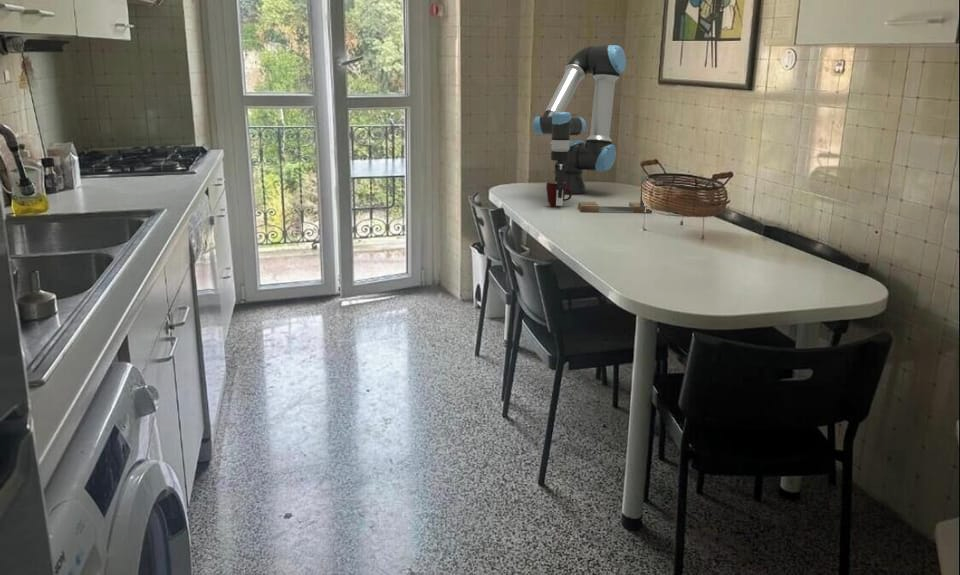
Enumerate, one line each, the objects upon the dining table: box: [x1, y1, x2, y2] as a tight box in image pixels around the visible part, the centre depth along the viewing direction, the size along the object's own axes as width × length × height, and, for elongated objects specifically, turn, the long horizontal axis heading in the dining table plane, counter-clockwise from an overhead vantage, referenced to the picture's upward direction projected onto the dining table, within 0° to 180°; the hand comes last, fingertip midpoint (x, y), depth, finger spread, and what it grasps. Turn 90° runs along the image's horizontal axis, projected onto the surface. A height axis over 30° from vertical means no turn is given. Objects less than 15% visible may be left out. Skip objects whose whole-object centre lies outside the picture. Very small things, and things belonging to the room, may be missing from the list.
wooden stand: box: [577, 175, 653, 214], centre depth 290 cm, size 13×28×14 cm, turn 88°
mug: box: [545, 181, 573, 208], centre depth 301 cm, size 10×8×10 cm
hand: (558, 203), depth 302 cm, fingers open, 11 cm apart
